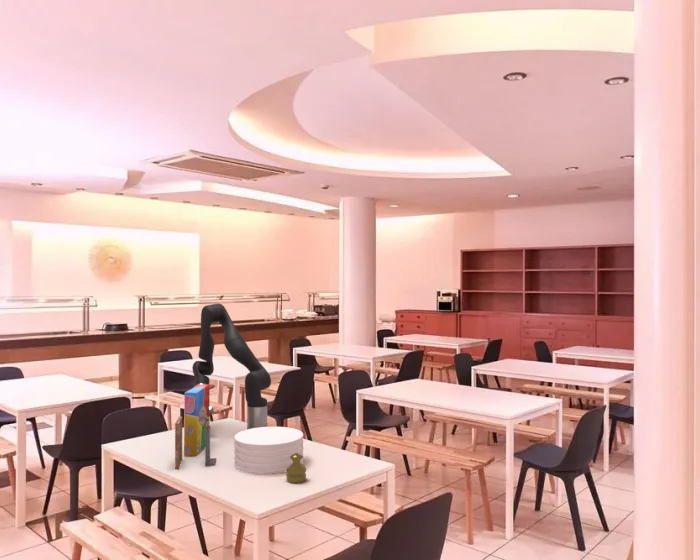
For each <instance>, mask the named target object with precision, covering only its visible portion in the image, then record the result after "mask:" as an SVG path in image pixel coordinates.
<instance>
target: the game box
mask: <svg viewBox="0 0 700 560" xmlns="http://www.w3.org/2000/svg"><path fill="white" fill-rule="evenodd" d="M210 385H211V384H209V385H197V386H195V385H194V387H193V388H191V389H189V390H187V391H185V392H184V412H183V413H184V419H183V421H184V422H183V423H184V425H183V426H184V427H183V428H184V429H183V433H184V434H183V457H196V456H198V455H199V453H201V452H202V451H203V450H205V430H206V426H210V416H209V405H210V395H211V394H210V389H211V387H210Z"/></svg>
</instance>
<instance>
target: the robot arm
mask: <svg viewBox="0 0 700 560" xmlns="http://www.w3.org/2000/svg"><path fill="white" fill-rule="evenodd" d="M216 323H219V324H220V325H221V327H222V328H223V331H224V333H223V334H224V335H223V344H224V347H225V348H226V350H227V352H228V353H229V355H230V356H231V358H233V359H234V360H235V361H236V362H238V363H239V364H241V365H242V366H243V367H245V368H246V369H247V370H248V373H247V374H246V376H245V377H244V393H245V401H246V430H248V429H252V428H259V427H269V426H268V399H267V398H265V397H263V396H262V393H261V392H262V391H265V390H267V389H268V388H270V386H271V384H272V379H271V375H270V374H269V372H268V370H267V369H266V368H265V367H264V365H263V364H262V363H261V362H260V361H259V360H258V359H257V356H256V355H255V354H254V352H253V351H252V350H251V348H250V347H249V346H248V345H249V344H247V342H246V340H245V339H244V337H243V336H242V334H241V333H240V332H239V330H238V328H237V327H236V325H235V323H234V322H233V320H232V318H231V317H230V315H229V312H228V310H227V309H226V307H225V306H224V305H223V304H221V303H213V304H208V305H207V304H206V305H204V306H203V307H202V309H201V313H200V344H199V348H198V358H199V359H200V360H195V361H194V363H193V364H192V367H191V368H192V373H193V377H194V387H195V386H197V385H210V377H209V376H211V375H212V374H214V370H215V368H214V362H213V361H214V359H213V358H214V357H213V355H214V350H215V340H214V337H213V335H212V333H211V326H212V325H213V324H216ZM214 408H215V407H214V406H213V407H212V406H211V405H210V404H209V417H210V416H211V415H212V414H213V413H214V411H215V409H214Z"/></svg>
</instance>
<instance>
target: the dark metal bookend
mask: <svg viewBox="0 0 700 560" xmlns="http://www.w3.org/2000/svg"><path fill="white" fill-rule="evenodd" d="M204 452H205V453H204V455H205V456H204V463H205V464H204V466H205V467H210V466H216V463H217V457H215V458H214V457H213V458H211V425H209V426H206V430H205V448H204Z"/></svg>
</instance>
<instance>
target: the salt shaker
mask: <svg viewBox="0 0 700 560" xmlns="http://www.w3.org/2000/svg"><path fill="white" fill-rule="evenodd" d="M302 458H303V459H304V454H303V455H301V454H299V453H294V454H292V455H290V459H292V461H293V463H292V464H291V465H290V466H289V467H287V469H286V471H287V472H286V475H285V476H286V482H288V483H290V482H291V484H299V483H298V482H301V483H303V482H302V481H304V482H306V480H307V473H306V472H307V467H306V466H305V465H303V464H301V463H300V460H301V459H302Z"/></svg>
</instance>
